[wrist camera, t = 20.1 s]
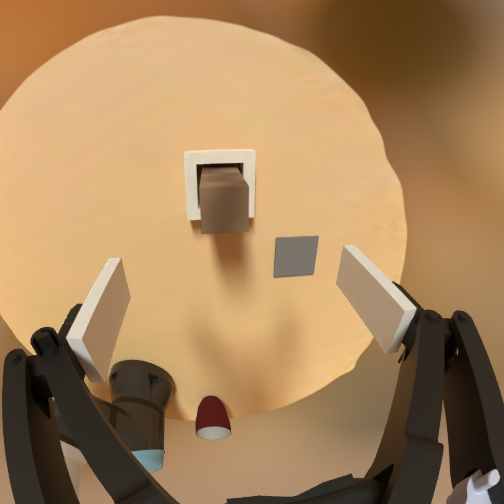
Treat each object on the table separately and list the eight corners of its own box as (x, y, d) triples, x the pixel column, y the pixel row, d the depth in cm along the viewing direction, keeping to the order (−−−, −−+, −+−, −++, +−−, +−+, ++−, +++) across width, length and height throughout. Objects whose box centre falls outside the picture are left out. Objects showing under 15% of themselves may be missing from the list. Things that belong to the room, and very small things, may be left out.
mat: (273, 276, 45) (273, 277, 45) (276, 237, 42) (276, 238, 42) (312, 273, 46) (313, 274, 46) (317, 236, 43) (318, 236, 43)
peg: (203, 197, 38) (201, 234, 26) (202, 165, 36) (199, 188, 24) (235, 195, 38) (248, 231, 26) (235, 164, 36) (249, 186, 24)
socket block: (188, 213, 38) (187, 220, 36) (185, 151, 34) (183, 153, 32) (250, 210, 40) (254, 217, 37) (251, 149, 36) (255, 151, 33)
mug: (239, 403, 62) (245, 435, 53) (216, 413, 63) (219, 444, 54) (211, 387, 57) (214, 423, 48) (187, 399, 58) (188, 433, 49)
